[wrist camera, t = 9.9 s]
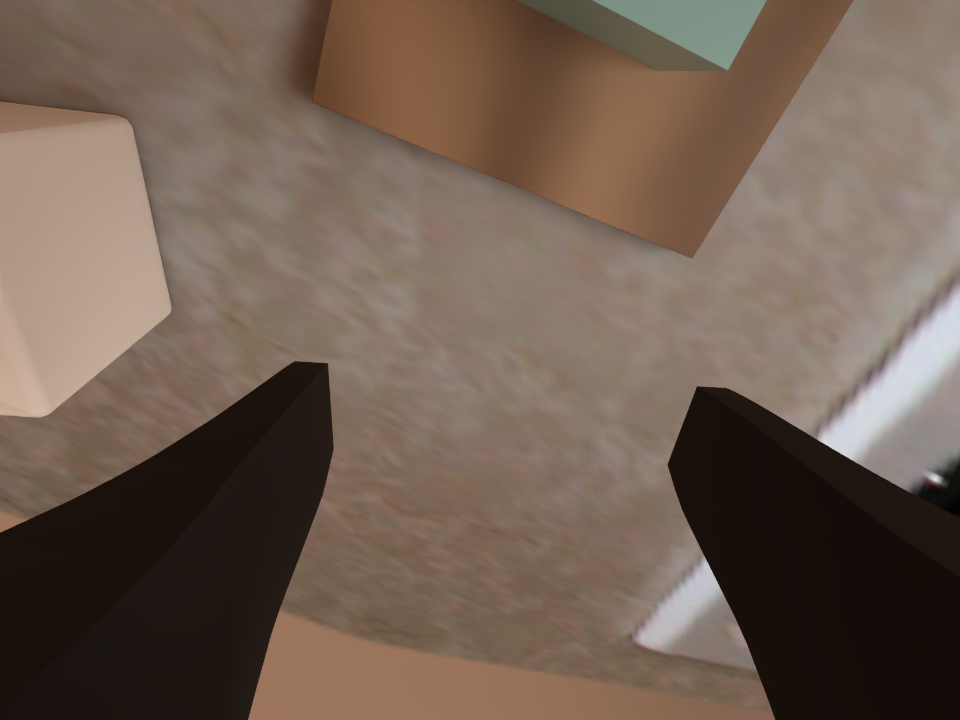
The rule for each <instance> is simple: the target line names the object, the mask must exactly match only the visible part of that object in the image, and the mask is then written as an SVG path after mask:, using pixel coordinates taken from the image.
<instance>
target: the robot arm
mask: <svg viewBox="0 0 960 720" xmlns="http://www.w3.org/2000/svg"><path fill="white" fill-rule="evenodd" d="M333 449H334V446H333V431H332V417H331V402H330V388H329V373H328V363H313V362H297V361H294V362H293V363H291V364H290V365H288V366H287V367H285V368H284V369H282V370H281V371H279V372H278V373H277V374H275V375H274V376H272V377H271V378H270V379H268V380H267V381H266V382H264V383H263V384H261V385H260V386H259V387H257V388H256V389H255V390H253V391H252V392H250V393H249V394H247V395H246V396H245V397H243V398H242V399H240V400H239V401H237V402H236V403H235V404H233V405H232V406H230V407H229V408H227V409H226V410H225V411H223V412H222V413H220V414H219V415H217V416H216V417H215V418H213V419H211V420H210V421H208V422H207V423H205V424H204V425H202V426H200V427H199V428H197V429H196V430H194V431H193V432H191V433H189V434H188V435H186V436H185V437H183V438H182V439H180V440H178V441H177V442H175V443H174V444H172V445H170V446H169V447H167V448H166V449H164V450H163V451H161V452H159V453H158V454H156V455H154V456H152V457H151V458H149V459H147V460H146V461H144V462H142V463H140V464H139V465H137V466H135V467H133V468H131V469H130V470H128V471H126V472H124V473H122V474H120V475H119V476H117V477H115V478H113V479H111V480H109V481H107V482H105V483H103V484H102V485H100V486H98V487H96V488H94V489H92V490H90V491H88V492H86V493H84V494H82V495H80V496H78V497H76V498H74V499H72V500H70V501H68V502H66V503H64V504H62V505H59V506H57V507H55V508H53V509H51V510H49V511H46V512H44V513H42V514H40V515H38V516H36V517H33V518H31V519H29V520H27V521H25V522H23V523H20V524H18V525H16V526H14V527H12V528H10V529H8V530H5V531H3V532H1V533H0V720H248V718H249V714H250V710H251V706H252V703H253V699H254V695H255V691H256V688H257V684H258V680H259V677H260V673H261V670H262V666H263V662H264V659H265V655H266V651H267V648H268V644H269V640H270V637H271V633H272V630H273V627H274V624H275V621H276V618H277V615H278V612H279V609H280V606H281V604H282V601H283V599H284V596H285V593H286V591H287V588H288V585H289V583H290V580H291V578H292V575H293V572H294V570H295V567H296V564H297V562H298V559H299V557H300V554H301V551H302V549H303V546H304V543H305V541H306V538H307V536H308V533H309V530H310V528H311V525H312V522H313V520H314V517H315V514H316V512H317V509H318V506H319V503H320V501H321V498H322V495H323V491H324V487H325V483H326V479H327V475H328V471H329V467H330V462H331V458H332V453H333ZM668 468H669V471H670V474H671V478H672V481H673V484H674V487H675V491H676V493H677V496H678V499H679V502H680V505H681V508H682V510H683V512H684V515H685V517H686V519H687V521H688V523H689V525H690V527H691V529H692V531H693V533H694V535H695V538H696V540H697V542H698V544H699V546H700V548H701V550H702V552H703V554H704V556H705V558H706V560H707V562H708V564H709V566H710V568H711V570H712V572H713V574H714V576H715V578H716V580H717V582H718V584H719V586H720V588H721V590H722V592H723V594H724V596H725V598H726V600H727V602H728V604H729V606H730V608H731V610H732V612H733V614H734V616H735V618H736V620H737V623H738V625H739V627H740V629H741V632H742V634H743V636H744V638H745V640H746V643H747V645H748V648H749V650H750V653H751V656H752V658H753V661H754V664H755V666H756V669H757V671H758V674H759V677H760V679H761V682H762V685H763V687H764V690H765V692H766V695H767V698H768V700H769V703H770V706H771V709H772V712H773V715H774V717H775V720H960V518H959V517H957V516H955V515H953V514H951V513H949V512H946V511H944V510H942V509H940V508H938V507H936V506H934V505H932V504H930V503H929V502H927V501H925V500H923V499H921V498H919V497H917V496H915V495H913V494H911V493H909V492H908V491H906V490H904V489H902V488H900V487H898V486H897V485H895V484H893V483H891V482H889V481H888V480H886V479H884V478H882V477H880V476H879V475H877V474H875V473H873V472H871V471H870V470H868V469H866V468H864V467H863V466H861V465H859V464H857V463H856V462H854V461H852V460H850V459H849V458H847V457H845V456H844V455H842V454H840V453H838V452H837V451H835V450H833V449H832V448H830V447H828V446H827V445H825V444H823V443H822V442H820V441H818V440H817V439H815V438H813V437H812V436H810V435H808V434H807V433H805V432H803V431H802V430H800V429H798V428H797V427H795V426H794V425H792V424H790V423H789V422H787V421H785V420H784V419H782V418H780V417H779V416H777V415H775V414H774V413H772V412H770V411H769V410H767V409H765V408H763V407H762V406H760V405H758V404H756V403H755V402H753V401H751V400H749V399H747V398H746V397H744V396H742V395H740V394H738V393H736V392H734V391H732V390H729V389H727V388H715V387H699V386H697V388H696V391H695V393H694V396H693V399H692V401H691V404H690V407H689V409H688V412H687V415H686V417H685V420H684V422H683V425H682V428H681V430H680V433H679V436H678V438H677V441H676V444H675V446H674V449H673V452H672V454H671V457H670V459H669V462H668Z"/></svg>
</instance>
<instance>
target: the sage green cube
mask: <svg viewBox="0 0 960 720" xmlns="http://www.w3.org/2000/svg"><path fill="white" fill-rule="evenodd" d="M517 1H519V2H521V3H523V4H525V5H527V6H529V7H531V8H533V9H535V10H537V11H539V12H541V13H543V14H545V15H547V16H549V17H551V18H553V19H555V20H557V21H559V22H561V23H563V24H565V25H567V26H569V27H571V28H573V29H575V30H577V31H579V32H581V33H583V34H585V35H587V36H589V37H591V38H593V39H595V40H597V41H599V42H601V43H603V44H605V45H607V46H609V47H611V48H613V49H615V50H617V51H619V52H621V53H623V54H625V55H627V56H629V57H631V58H633V59H635V60H637V61H639V62H641V63H643V64H645V65H647V66H649V67H651V68H653V69H655V70H657V71H728V69H729V67H730V66H731V64H732V62H733V60H734V58H735V57H736V55H737V53H738V51H739V49H740V48H741V46H742V44H743V42H744V40H745V38H746V37H747V35H748V33H749V31H750V29H751V28H752V26H753V24H754V22H755V20H756V19H757V17H758V15H759V13H760V11H761V10H762V8H763V6H764V4H765V2H766V1H767V0H517Z"/></svg>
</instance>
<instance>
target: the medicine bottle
mask: <svg viewBox="0 0 960 720" xmlns="http://www.w3.org/2000/svg"><path fill="white" fill-rule="evenodd" d="M170 312H171V302H170V298H169V293H168V288H167V284H166V279H165V275H164V270H163V265H162V261H161V256H160V252H159V247H158V242H157V238H156V233H155V229H154V224H153V219H152V215H151V210H150V205H149V201H148V196H147V192H146V187H145V182H144V178H143V173H142V169H141V164H140V159H139V155H138V150H137V146H136V141H135V136H134V132H133V128H132V126H131V124H130V122H129V121H128V120H126V119H125V118H123V117H120V116H117V115H110V114H101V113H93V112H84V111H76V110H67V109H59V108H50V107H42V106H33V105H25V104H17V103H8V102H0V415H8V416H23V417H43V416H46V415H48V414H50V413H51V412H52V411H54V410H55V409H56V408H57V407H58V406H60V405H61V404H62V403H63V402H64V401H66V400H67V399H68V398H69V397H70V396H72V395H73V394H74V393H75V392H76V391H78V390H79V389H80V388H81V387H82V386H84V385H85V384H86V383H87V382H88V381H90V380H91V379H92V378H93V377H95V376H96V375H97V374H98V373H99V372H101V371H102V370H103V369H104V368H105V367H107V366H108V365H109V364H110V363H111V362H113V361H114V360H115V359H116V358H117V357H119V356H120V355H121V354H122V353H123V352H125V351H126V350H127V349H128V348H129V347H131V346H132V345H133V344H134V343H135V342H137V341H138V340H139V339H140V338H141V337H143V336H144V335H145V334H146V333H148V332H149V331H150V330H151V329H152V328H154V327H155V326H156V325H157V324H158V323H160V322H161V321H162V320H163V319H164V318H166V317H167V316H168V315H169V314H170Z"/></svg>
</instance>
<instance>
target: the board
mask: <svg viewBox="0 0 960 720" xmlns="http://www.w3.org/2000/svg"><path fill="white" fill-rule="evenodd" d="M852 2H853V0H767V1H766V2H765V4H764V6H763V8H762V10H761V11H760V13H759V15H758V17H757V19H756V20H755V22H754V24H753V26H752V28H751V29H750V31H749V33H748V35H747V37H746V38H745V40H744V42H743V44H742V46H741V48H740V49H739V51H738V53H737V55H736V57H735V58H734V60H733V62H732V64H731V66H730V67H729V69H728V71H657V70H655V69H653V68H651V67H649V66H647V65H645V64H643V63H641V62H639V61H637V60H635V59H633V58H631V57H629V56H627V55H625V54H623V53H621V52H619V51H617V50H615V49H613V48H611V47H609V46H607V45H605V44H603V43H601V42H599V41H597V40H595V39H593V38H591V37H589V36H587V35H585V34H583V33H581V32H579V31H577V30H575V29H573V28H571V27H569V26H567V25H565V24H563V23H561V22H559V21H557V20H555V19H553V18H551V17H549V16H547V15H545V14H543V13H541V12H539V11H537V10H535V9H533V8H531V7H529V6H527V5H525V4H523V3H521V2H519V1H517V0H332V3H331V8H330V13H329V18H328V23H327V28H326V33H325V38H324V43H323V48H322V53H321V58H320V63H319V68H318V73H317V78H316V83H315V88H314V93H313V98H312V102H313V103H315V104H317V105H320V106H322V107H325V108H327V109H330V110H332V111H334V112H337V113H339V114H342V115H344V116H347V117H349V118H351V119H354V120H356V121H359V122H361V123H364V124H366V125H368V126H371V127H373V128H376V129H378V130H381V131H383V132H385V133H388V134H390V135H393V136H395V137H398V138H400V139H402V140H405V141H407V142H410V143H412V144H415V145H417V146H420V147H422V148H424V149H427V150H429V151H432V152H434V153H437V154H439V155H441V156H444V157H446V158H449V159H451V160H454V161H456V162H458V163H461V164H463V165H466V166H468V167H471V168H473V169H475V170H478V171H480V172H483V173H485V174H488V175H490V176H492V177H495V178H497V179H500V180H502V181H505V182H507V183H509V184H512V185H514V186H517V187H519V188H522V189H524V190H526V191H529V192H531V193H534V194H536V195H539V196H541V197H543V198H546V199H548V200H551V201H553V202H556V203H558V204H560V205H563V206H565V207H568V208H570V209H573V210H575V211H577V212H580V213H582V214H585V215H587V216H590V217H592V218H594V219H597V220H599V221H602V222H604V223H607V224H609V225H611V226H614V227H616V228H619V229H621V230H624V231H626V232H628V233H631V234H633V235H636V236H638V237H641V238H643V239H645V240H648V241H650V242H653V243H655V244H658V245H660V246H663V247H665V248H667V249H670V250H672V251H675V252H677V253H680V254H682V255H684V256H687V257H689V258H693V257H694V255H695V253H696V252H697V250H698V249H699V247H700V245H701V244H702V242H703V241H704V239H705V237H706V236H707V234H708V233H709V231H710V229H711V228H712V226H713V224H714V223H715V221H716V220H717V218H718V216H719V215H720V213H721V212H722V210H723V208H724V207H725V205H726V204H727V202H728V200H729V199H730V197H731V196H732V194H733V192H734V191H735V189H736V188H737V186H738V184H739V183H740V181H741V180H742V178H743V176H744V175H745V173H746V172H747V170H748V168H749V167H750V165H751V164H752V162H753V160H754V159H755V157H756V156H757V154H758V152H759V151H760V149H761V148H762V146H763V144H764V143H765V141H766V140H767V138H768V136H769V135H770V133H771V132H772V130H773V128H774V127H775V125H776V124H777V122H778V120H779V119H780V117H781V116H782V114H783V112H784V111H785V109H786V108H787V106H788V104H789V103H790V101H791V100H792V98H793V96H794V95H795V93H796V92H797V90H798V88H799V87H800V85H801V84H802V82H803V80H804V79H805V77H806V76H807V74H808V72H809V71H810V69H811V68H812V66H813V64H814V63H815V61H816V60H817V58H818V56H819V55H820V53H821V52H822V50H823V48H824V47H825V45H826V44H827V42H828V40H829V39H830V37H831V36H832V34H833V32H834V31H835V29H836V28H837V26H838V24H839V23H840V21H841V20H842V18H843V16H844V15H845V13H846V12H847V10H848V8H849V7H850V5H851V4H852Z"/></svg>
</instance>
